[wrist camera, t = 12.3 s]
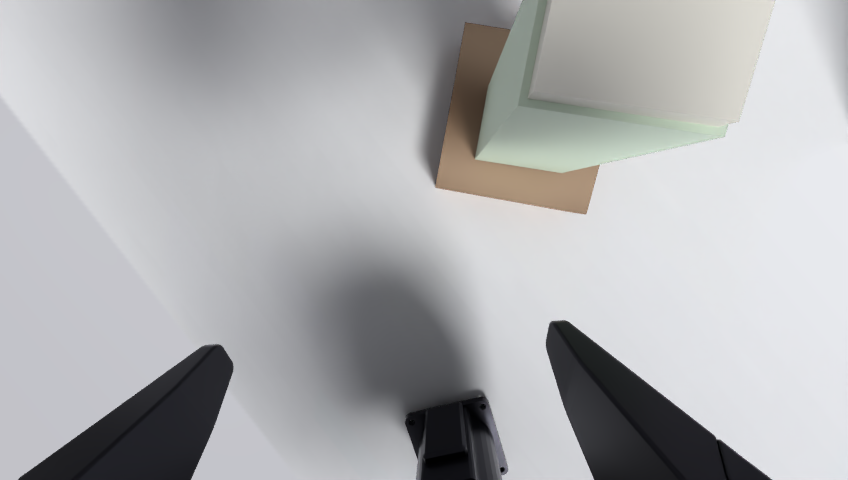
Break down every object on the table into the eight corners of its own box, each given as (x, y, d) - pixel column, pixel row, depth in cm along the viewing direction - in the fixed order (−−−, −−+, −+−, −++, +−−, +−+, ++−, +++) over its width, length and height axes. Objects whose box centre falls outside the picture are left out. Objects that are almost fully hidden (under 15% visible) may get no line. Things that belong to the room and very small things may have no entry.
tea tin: (561, 173, 17) (745, 132, 7) (474, 159, 17) (523, 99, 7) (577, 100, 17) (806, -69, 6) (487, 86, 17) (562, -99, 6)
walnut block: (565, 211, 20) (586, 214, 18) (436, 187, 21) (435, 187, 18) (601, 71, 19) (630, 49, 16) (461, 48, 19) (465, 22, 16)
